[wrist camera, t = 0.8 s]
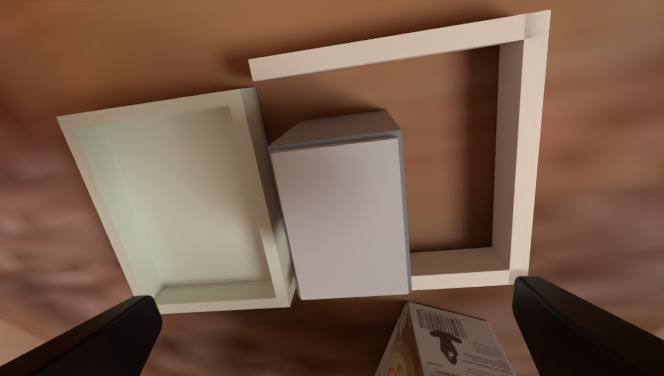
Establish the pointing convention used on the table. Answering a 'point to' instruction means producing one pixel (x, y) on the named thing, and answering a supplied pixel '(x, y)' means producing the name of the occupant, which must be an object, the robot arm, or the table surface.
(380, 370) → the coffee box
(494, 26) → the bay
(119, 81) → the table surface
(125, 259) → the tray
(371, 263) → the grey block
